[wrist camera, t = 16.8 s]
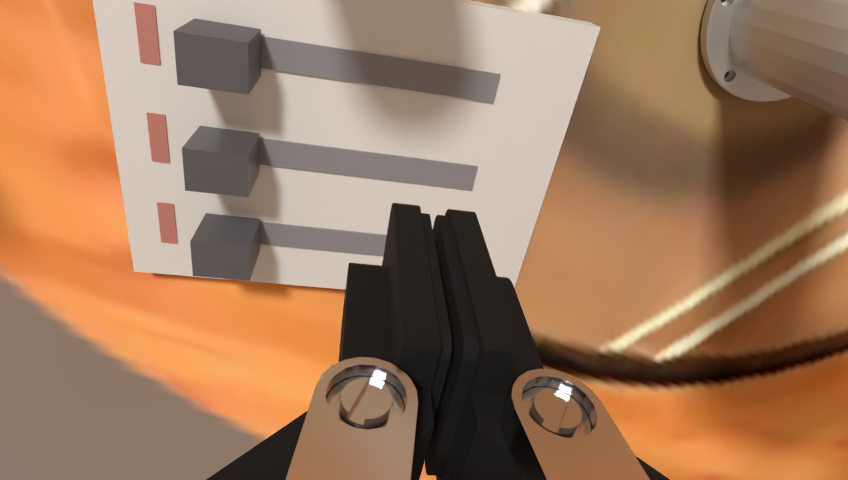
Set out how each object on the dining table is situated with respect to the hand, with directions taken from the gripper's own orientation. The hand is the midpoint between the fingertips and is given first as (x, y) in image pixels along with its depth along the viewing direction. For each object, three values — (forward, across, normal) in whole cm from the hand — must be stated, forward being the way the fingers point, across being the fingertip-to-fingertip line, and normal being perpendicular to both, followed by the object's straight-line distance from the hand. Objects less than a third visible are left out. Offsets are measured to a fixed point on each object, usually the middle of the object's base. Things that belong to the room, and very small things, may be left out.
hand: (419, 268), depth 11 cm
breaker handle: (+27, +10, +10) cm, 30 cm away
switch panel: (+29, +2, +10) cm, 31 cm away
